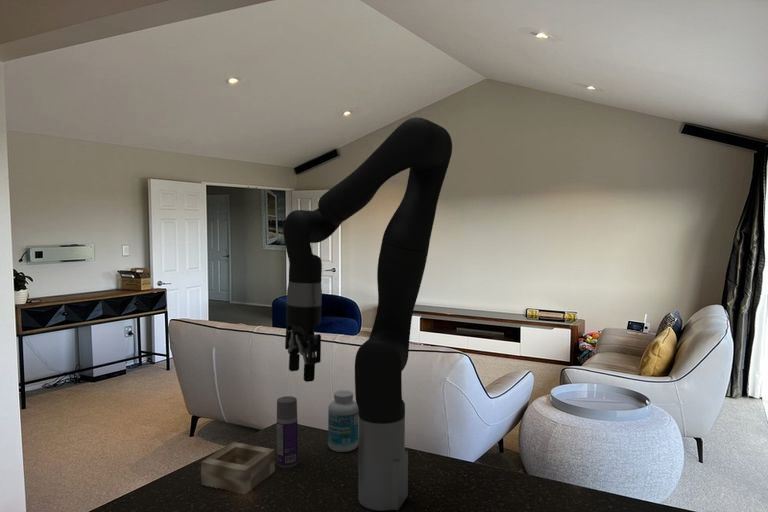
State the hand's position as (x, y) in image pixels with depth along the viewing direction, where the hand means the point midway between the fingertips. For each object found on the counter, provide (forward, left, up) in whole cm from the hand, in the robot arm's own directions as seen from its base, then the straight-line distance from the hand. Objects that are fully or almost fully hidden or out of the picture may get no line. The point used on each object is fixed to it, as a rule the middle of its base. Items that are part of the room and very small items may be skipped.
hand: (301, 375), depth 120 cm
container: (+5, -3, -22) cm, 23 cm away
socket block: (+11, +7, -22) cm, 26 cm away
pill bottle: (-3, -16, -22) cm, 27 cm away
